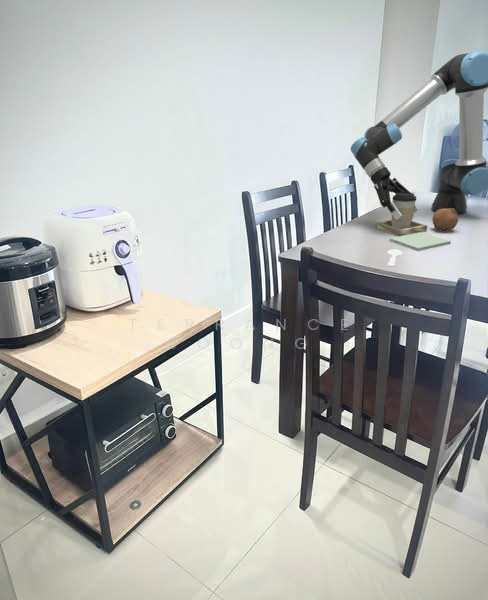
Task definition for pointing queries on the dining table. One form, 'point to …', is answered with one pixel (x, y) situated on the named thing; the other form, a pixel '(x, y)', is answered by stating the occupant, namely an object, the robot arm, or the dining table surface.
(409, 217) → the coffee cup
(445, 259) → the dining table surface
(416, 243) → the mat
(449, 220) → the onion
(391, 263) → the spoon
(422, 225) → the picture frame
